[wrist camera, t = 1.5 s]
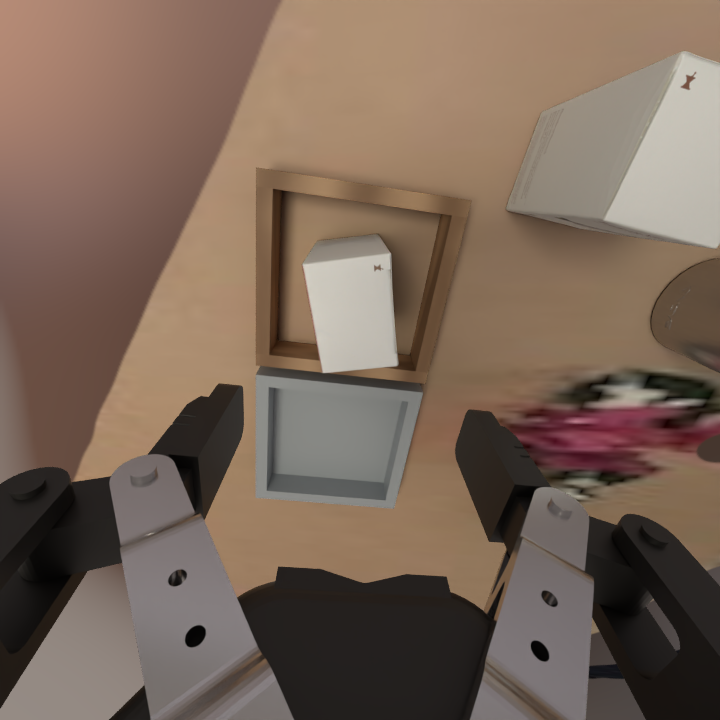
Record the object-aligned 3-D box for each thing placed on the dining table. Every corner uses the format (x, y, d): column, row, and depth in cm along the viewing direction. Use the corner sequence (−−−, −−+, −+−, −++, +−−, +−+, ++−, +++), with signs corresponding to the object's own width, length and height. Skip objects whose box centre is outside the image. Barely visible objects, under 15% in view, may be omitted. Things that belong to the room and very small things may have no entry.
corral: (458, 200, 29) (471, 200, 25) (418, 367, 35) (425, 383, 32) (267, 170, 27) (256, 167, 24) (264, 349, 34) (255, 365, 31)
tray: (416, 375, 36) (423, 392, 33) (390, 485, 43) (393, 508, 40) (264, 358, 35) (255, 374, 31) (263, 474, 42) (255, 497, 38)
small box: (316, 239, 30) (299, 260, 20) (379, 232, 30) (392, 249, 20) (329, 325, 33) (320, 376, 24) (385, 319, 33) (399, 368, 24)
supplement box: (501, 211, 29) (598, 221, 18) (540, 108, 26) (688, 40, 15) (579, 231, 30) (718, 253, 19) (625, 134, 27) (827, 89, 15)
